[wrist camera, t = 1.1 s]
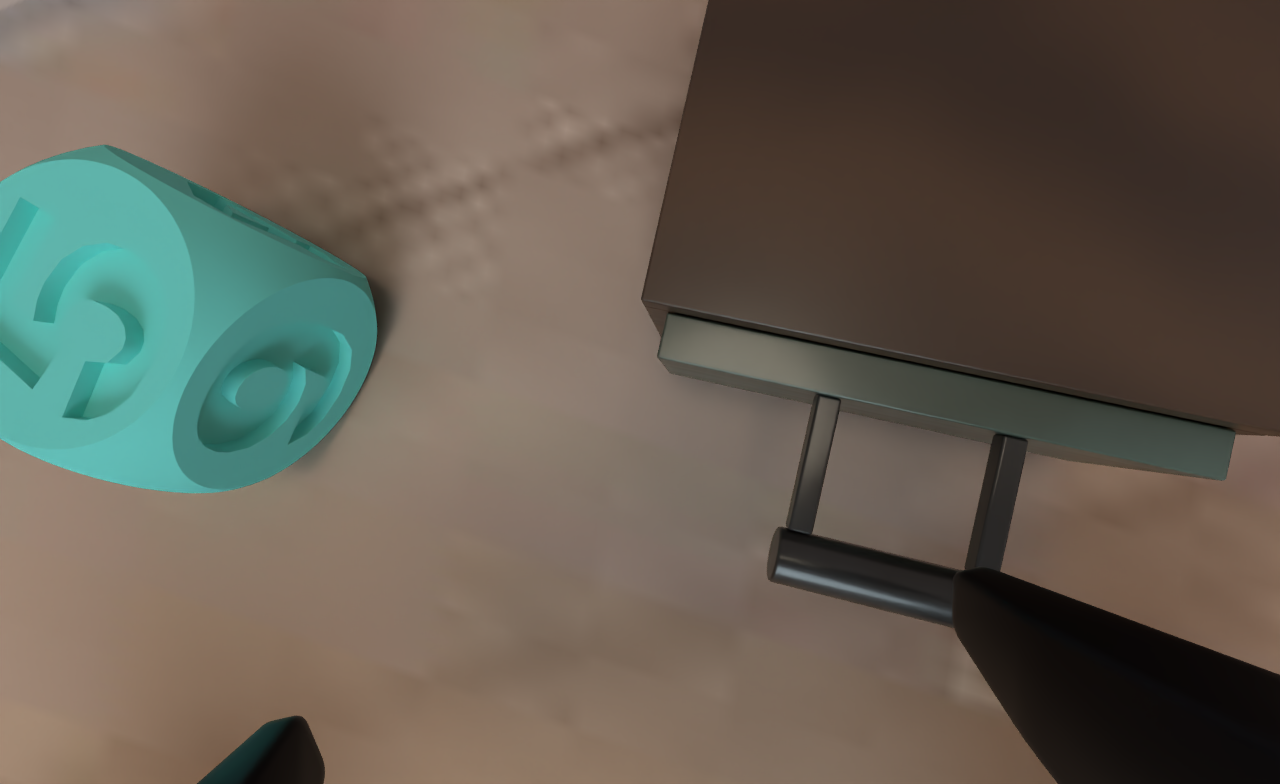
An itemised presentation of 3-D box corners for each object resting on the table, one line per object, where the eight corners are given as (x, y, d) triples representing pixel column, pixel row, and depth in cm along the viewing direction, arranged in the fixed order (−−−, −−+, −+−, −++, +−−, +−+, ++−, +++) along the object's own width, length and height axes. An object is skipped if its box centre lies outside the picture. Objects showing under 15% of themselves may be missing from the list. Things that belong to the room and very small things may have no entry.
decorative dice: (246, 205, 24) (15, 99, 16) (412, 299, 23) (257, 237, 15) (152, 380, 24) (-124, 364, 16) (313, 480, 23) (107, 516, 15)
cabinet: (1079, 428, 20) (1306, 438, 13) (661, 339, 22) (640, 300, 14) (1150, 98, 20) (1417, -89, 13) (730, 33, 22) (745, -168, 14)
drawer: (1037, 608, 19) (1185, 693, 13) (638, 509, 21) (613, 547, 15) (1137, 148, 19) (1325, 34, 14) (734, 82, 21) (747, -46, 15)
